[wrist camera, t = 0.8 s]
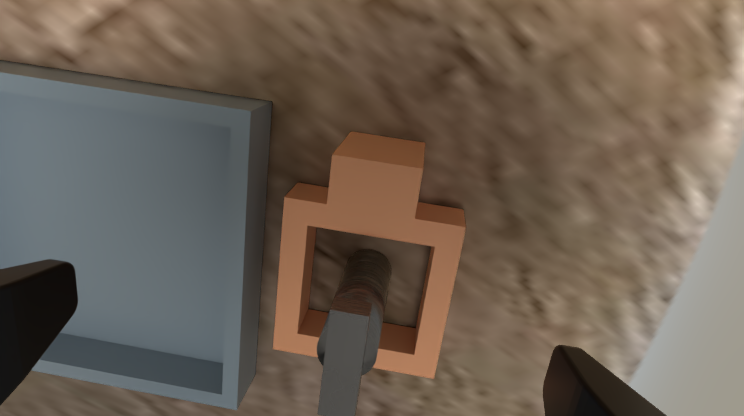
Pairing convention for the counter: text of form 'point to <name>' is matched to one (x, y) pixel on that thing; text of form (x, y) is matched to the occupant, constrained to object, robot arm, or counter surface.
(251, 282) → the tray
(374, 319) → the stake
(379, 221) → the tan rectangular frame
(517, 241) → the counter surface
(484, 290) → the counter surface
